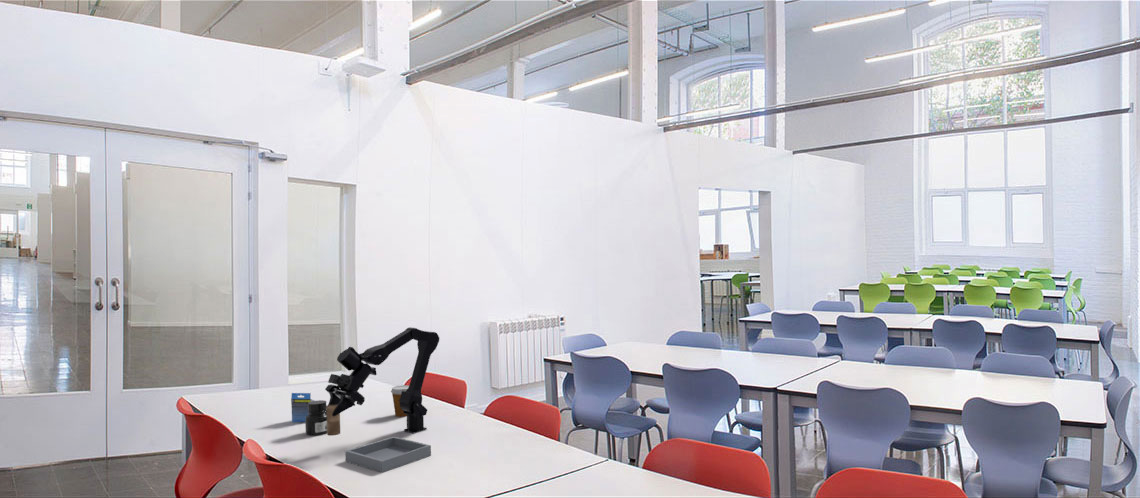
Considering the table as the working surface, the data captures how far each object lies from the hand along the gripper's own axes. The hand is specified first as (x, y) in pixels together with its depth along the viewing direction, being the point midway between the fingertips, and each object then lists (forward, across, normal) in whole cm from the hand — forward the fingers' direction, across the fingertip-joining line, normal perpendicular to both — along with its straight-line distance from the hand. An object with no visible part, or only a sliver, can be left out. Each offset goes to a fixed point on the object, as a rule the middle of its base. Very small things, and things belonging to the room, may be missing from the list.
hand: (329, 414), depth 227 cm
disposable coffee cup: (-23, -25, +42) cm, 54 cm away
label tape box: (-1, -51, +20) cm, 55 cm away
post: (+4, 0, +6) cm, 7 cm away
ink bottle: (+3, -29, +16) cm, 33 cm away
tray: (+3, +22, +16) cm, 28 cm away
